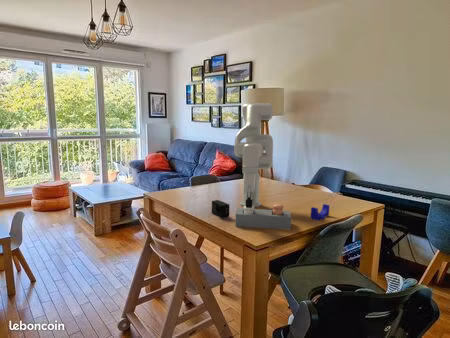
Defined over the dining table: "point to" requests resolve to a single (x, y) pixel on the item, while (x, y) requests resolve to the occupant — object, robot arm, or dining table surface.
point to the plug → (248, 210)
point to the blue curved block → (322, 214)
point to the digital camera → (220, 209)
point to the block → (263, 219)
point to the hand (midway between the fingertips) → (248, 207)
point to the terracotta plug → (277, 209)
